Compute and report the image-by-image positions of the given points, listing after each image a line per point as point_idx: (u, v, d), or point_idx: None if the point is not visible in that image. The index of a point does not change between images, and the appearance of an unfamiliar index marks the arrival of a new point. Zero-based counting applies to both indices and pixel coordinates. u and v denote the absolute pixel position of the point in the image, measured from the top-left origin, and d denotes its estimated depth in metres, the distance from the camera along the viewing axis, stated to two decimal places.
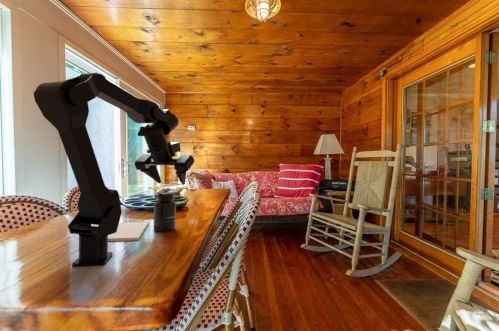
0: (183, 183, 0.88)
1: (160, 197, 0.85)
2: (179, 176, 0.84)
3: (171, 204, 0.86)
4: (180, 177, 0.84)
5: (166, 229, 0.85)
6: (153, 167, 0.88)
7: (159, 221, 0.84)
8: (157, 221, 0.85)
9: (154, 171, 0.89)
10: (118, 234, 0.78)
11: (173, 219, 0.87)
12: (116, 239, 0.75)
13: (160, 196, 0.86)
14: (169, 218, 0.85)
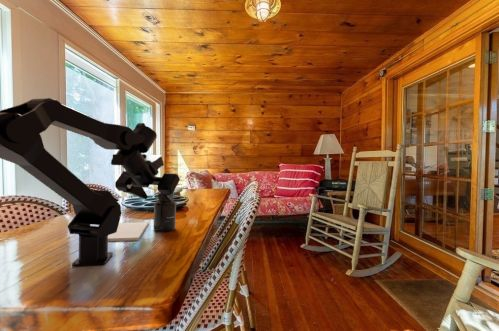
0: (171, 200, 0.82)
1: (160, 197, 0.85)
2: (165, 196, 0.78)
3: (171, 204, 0.86)
4: (166, 197, 0.78)
5: (166, 229, 0.85)
6: None
7: (159, 221, 0.84)
8: (157, 221, 0.85)
9: (138, 189, 0.82)
10: (118, 234, 0.78)
11: (173, 219, 0.87)
12: (116, 239, 0.75)
13: (160, 196, 0.86)
14: (169, 218, 0.85)
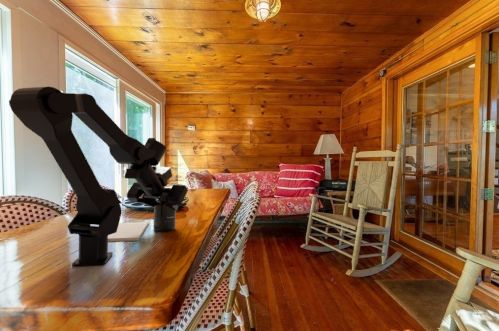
0: (176, 209, 0.87)
1: (160, 197, 0.85)
2: (171, 206, 0.83)
3: None
4: (172, 207, 0.83)
5: (166, 229, 0.85)
6: None
7: (159, 221, 0.84)
8: (157, 221, 0.85)
9: (151, 199, 0.87)
10: (118, 234, 0.78)
11: (173, 219, 0.87)
12: (116, 239, 0.75)
13: None
14: (169, 218, 0.85)
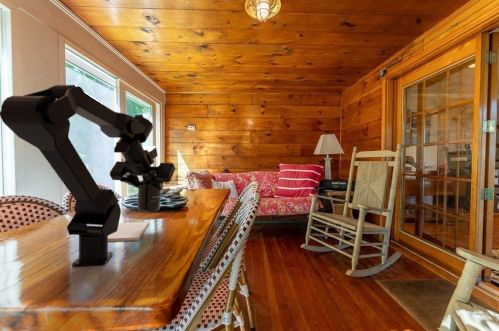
0: (161, 189, 0.86)
1: (145, 176, 0.84)
2: (157, 184, 0.82)
3: None
4: (158, 185, 0.83)
5: (152, 208, 0.84)
6: (133, 175, 0.84)
7: (145, 200, 0.83)
8: (142, 201, 0.83)
9: (134, 179, 0.85)
10: (118, 234, 0.78)
11: (158, 199, 0.86)
12: (116, 239, 0.75)
13: None
14: (155, 198, 0.84)
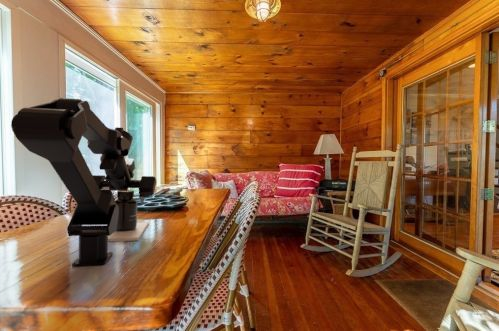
0: (143, 202, 0.85)
1: (122, 195, 0.82)
2: (142, 198, 0.81)
3: (134, 202, 0.84)
4: (143, 199, 0.82)
5: (130, 228, 0.82)
6: None
7: (123, 220, 0.81)
8: (120, 221, 0.81)
9: None
10: (118, 234, 0.78)
11: (136, 217, 0.84)
12: (116, 239, 0.75)
13: (122, 194, 0.82)
14: (133, 217, 0.83)
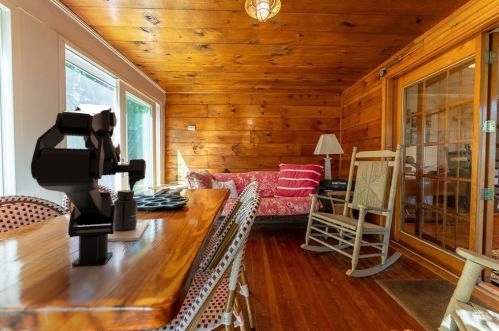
0: (132, 189, 0.78)
1: (122, 195, 0.82)
2: (132, 184, 0.74)
3: (134, 202, 0.84)
4: (132, 184, 0.75)
5: (130, 228, 0.82)
6: None
7: (123, 220, 0.81)
8: (120, 221, 0.81)
9: None
10: (118, 234, 0.78)
11: (136, 217, 0.84)
12: (116, 239, 0.75)
13: (122, 194, 0.82)
14: (133, 217, 0.83)
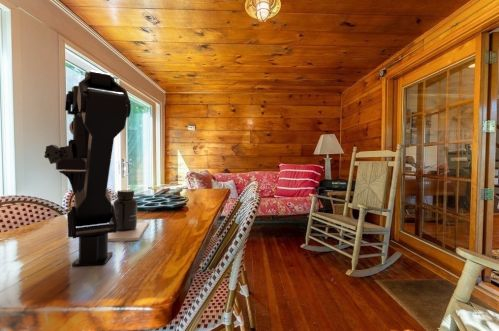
0: None
1: (122, 195, 0.82)
2: None
3: (134, 202, 0.84)
4: None
5: (130, 228, 0.82)
6: None
7: (123, 220, 0.81)
8: (120, 221, 0.81)
9: None
10: (118, 234, 0.78)
11: (136, 217, 0.84)
12: (116, 239, 0.75)
13: (122, 194, 0.82)
14: (133, 216, 0.83)
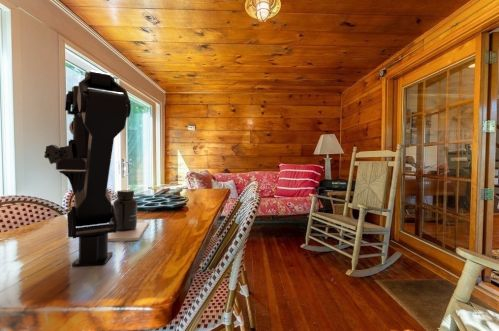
0: None
1: (122, 195, 0.82)
2: None
3: (134, 201, 0.84)
4: None
5: (130, 228, 0.82)
6: None
7: (123, 220, 0.81)
8: (120, 221, 0.81)
9: None
10: (118, 234, 0.78)
11: (136, 217, 0.84)
12: (116, 239, 0.75)
13: (122, 194, 0.82)
14: (133, 216, 0.83)
